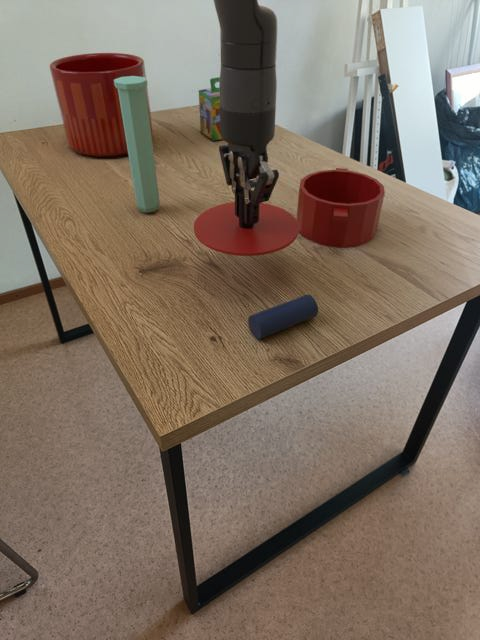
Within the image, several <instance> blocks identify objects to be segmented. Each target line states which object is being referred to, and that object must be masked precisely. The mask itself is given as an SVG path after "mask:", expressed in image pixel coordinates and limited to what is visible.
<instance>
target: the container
mask: <svg viewBox="0 0 480 640" xmlns="http://www.w3.org/2000/svg"><path fill="white" fill-rule="evenodd" d="M114 84H115V87H116V88H118V93H119V99H120V106H121V112H122V118H123V124H124V130H125V136H126V143H127V149H128V155H127V156H128V160H129V167H130V173H131V180H132V184H133V186H132V187H133V191H134V197H135V205H136V206H137V209H138V210H139V211H140V212H143V213H147V214H148V213H154V212H156V211H157V210H158V209H159V208H160V205H161V201H160V193H159V185H158V179H157V177H158V176H157V171H156V170H157V169H156V161H155V154H154V145H153V140H152V137H151V129H150V121H149V113H148V105H147V97H146V89H145V86H147V87H148V86H149V85H148V79H147V77H146V78H145V77H139V76H127V77H120V78H117V79H114Z"/></svg>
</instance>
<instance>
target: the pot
mask: <svg viewBox="0 0 480 640" xmlns="http://www.w3.org/2000/svg"><path fill="white" fill-rule="evenodd" d="M348 169H349V168H343V167H335V169H325V170H318V171H315V172H312V173H309V174H307V175H305V176H304V177H303V178H301V179H300V183H299V188H298V201H297V211H296V220H297V222H298V224H299V234H300V235H302V236H303V237H304V238H305V239H307V240H309V241H310V242H312V243H316V244H319V245H322V246H326V247H333V248H352V247H357V246H361V245H364V244H366V243H368V242H370V241H371V240H372V239H373V238H374V237H375V235H376V233H377V230H378V226H379V223H380V222H379V221H380V217H381V213H382V208H383V203H384V199H385V195H386V192H385V185H383V184H382V183H381V182H380V181H379V180H378V179H377V178H375V177H372V176H370V175H368V174H365V173H362V172H358V171H353V170H348Z"/></svg>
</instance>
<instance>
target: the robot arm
mask: <svg viewBox="0 0 480 640" xmlns="http://www.w3.org/2000/svg"><path fill="white" fill-rule="evenodd" d="M213 5H214V8H215V9H214V10H215V13H216V16H217V19H218V24H219V41H220V42H219V43H220V44H219V45H220V49H219V50H220V71H219V72H220V73H219V77H220V82H218V83H219V86H218V88H219V92H220V132H221V137H222V140H223V141H224V142H225V143H226V144H223V145H219V146H218V151H219V157H220V160H221V165H222V169H223V173H224V174H223V175H224V178H225V182H226V185H227V186H228V187H230V186H231V192H232V194H233V195H234V202H235V215H236V216H237V217H239V191H241V190H244V199H245V202H244V222H245V223H246V224H247V225H252V224H256V223H257V222H258V221H259V204H260V203H267V202H269V200H270V199H271V196H272V194H273V191H274V188H275V187H276V184H277V182H278V179H279V178H280V173H279V170H278V169H271V167H270V166H269V164H268V162H269V155H268V151H267V146H268V145H269V144H270V142H272V140H273V139H274V137H275V131H276V130H275V129H276V111H277V110H276V109H277V90H278V80H277V79H278V78H277V54H278V53H277V50H278V17H277V15H276V13H275V12H274V10H272V9H271V8H269V7H267V6H264V5H260V4H259V1H258V0H213ZM252 189H253V193H252V194H251V190H252Z"/></svg>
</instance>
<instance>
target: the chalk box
mask: <svg viewBox="0 0 480 640" xmlns="http://www.w3.org/2000/svg"><path fill="white" fill-rule="evenodd" d="M209 82H210V83H209V85H210V88H204V89H199V90H198V103H199V104H198V105H199V106H198V107H199V108H198V109H199V124H200V133H201V134H203V135H204V136H205V137H207V138H209V140H211V141H213V142H215V141H221V140H223V139H222V137H221V132H220V92H219V87H216V84H217V83H219V82H220V76H219V77H218V76H217V77H211V78H210V79H209Z"/></svg>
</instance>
